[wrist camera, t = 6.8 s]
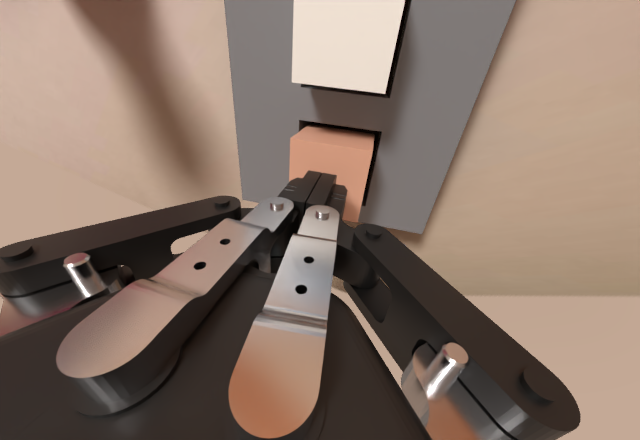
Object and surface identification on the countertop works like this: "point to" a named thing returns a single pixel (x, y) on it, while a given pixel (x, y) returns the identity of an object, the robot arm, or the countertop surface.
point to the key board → (364, 101)
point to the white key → (345, 42)
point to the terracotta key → (334, 160)
